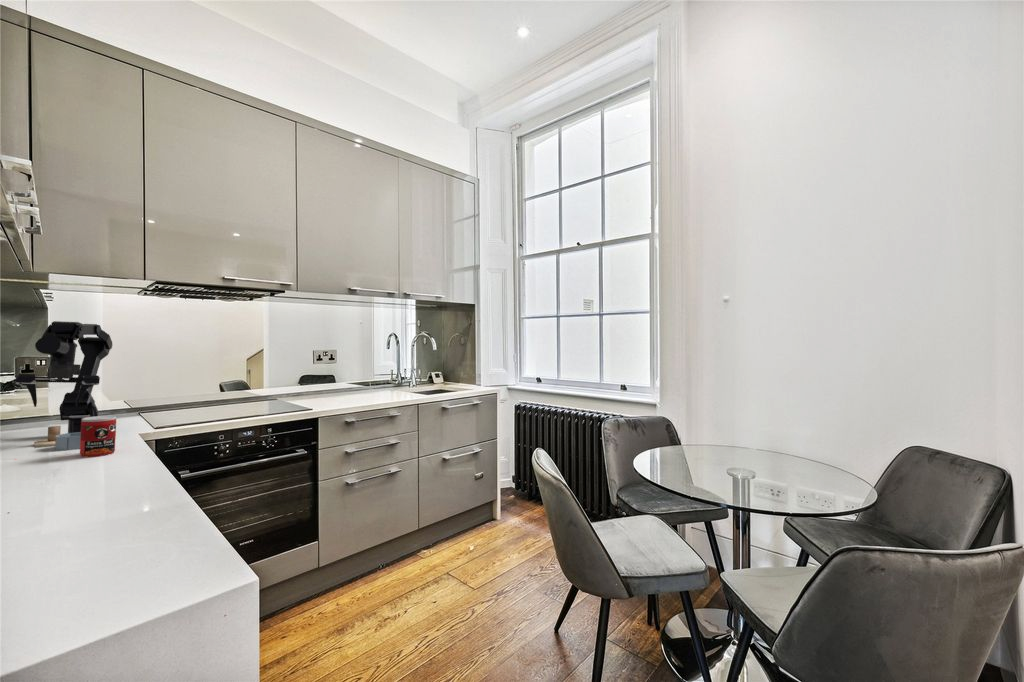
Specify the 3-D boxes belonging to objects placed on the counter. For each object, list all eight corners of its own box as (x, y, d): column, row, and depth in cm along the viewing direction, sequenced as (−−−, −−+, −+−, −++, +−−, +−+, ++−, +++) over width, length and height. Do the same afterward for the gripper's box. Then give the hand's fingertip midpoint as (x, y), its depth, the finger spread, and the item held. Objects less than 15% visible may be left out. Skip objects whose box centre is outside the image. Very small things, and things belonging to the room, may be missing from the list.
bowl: (55, 448, 135) (56, 434, 135) (95, 444, 142) (95, 430, 142) (54, 453, 129) (55, 438, 129) (96, 449, 136) (96, 434, 136)
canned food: (82, 458, 123) (84, 420, 124) (77, 454, 128) (78, 417, 129) (117, 454, 130) (119, 417, 130) (111, 450, 134) (113, 414, 135)
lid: (34, 443, 139) (35, 426, 140) (72, 439, 146) (73, 423, 146) (33, 447, 133) (33, 430, 134) (72, 443, 140) (73, 426, 140)
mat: (35, 444, 140) (36, 442, 140) (71, 441, 146) (71, 439, 146) (34, 449, 133) (34, 447, 133) (71, 446, 139) (71, 444, 139)
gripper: (18, 353, 130) (10, 405, 127) (103, 357, 143) (98, 404, 140) (20, 358, 137) (13, 407, 135) (100, 361, 151) (95, 406, 148)
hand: (56, 406), depth 139 cm, fingers open, 9 cm apart
